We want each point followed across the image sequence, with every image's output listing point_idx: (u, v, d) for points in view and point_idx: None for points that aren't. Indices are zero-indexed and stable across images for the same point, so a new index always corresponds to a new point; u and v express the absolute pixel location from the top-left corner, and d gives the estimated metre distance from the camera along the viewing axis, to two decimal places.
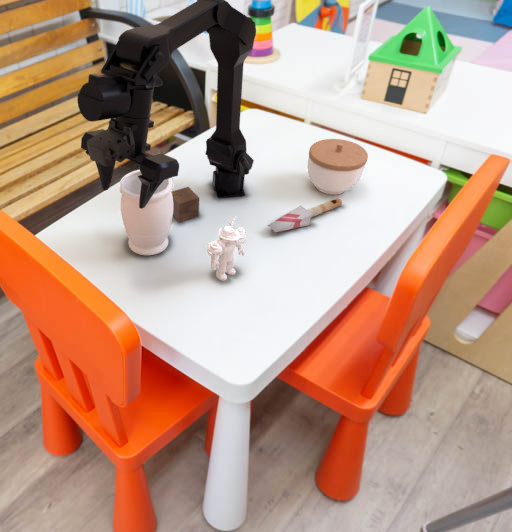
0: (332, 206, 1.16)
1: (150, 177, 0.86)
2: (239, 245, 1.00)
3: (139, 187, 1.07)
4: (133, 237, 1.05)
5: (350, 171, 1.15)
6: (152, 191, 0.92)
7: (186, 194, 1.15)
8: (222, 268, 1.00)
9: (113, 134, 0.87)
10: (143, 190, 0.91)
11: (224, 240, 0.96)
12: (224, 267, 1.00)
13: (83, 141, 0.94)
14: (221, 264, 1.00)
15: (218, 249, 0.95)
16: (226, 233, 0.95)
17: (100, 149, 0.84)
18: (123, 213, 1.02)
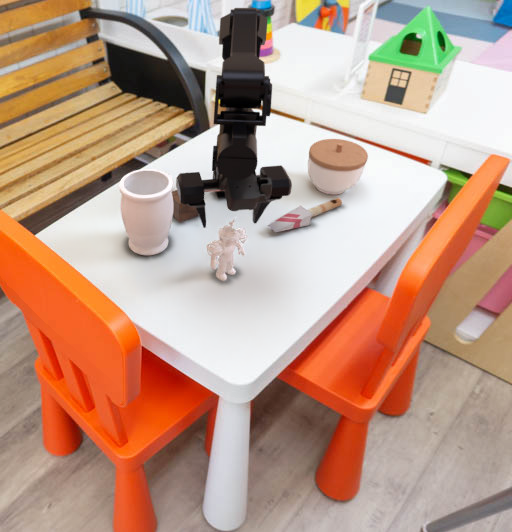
0: (332, 206, 1.16)
1: (283, 194, 0.88)
2: (239, 245, 1.00)
3: (139, 187, 1.07)
4: (133, 237, 1.05)
5: (350, 171, 1.15)
6: None
7: None
8: (222, 268, 1.00)
9: None
10: (263, 207, 0.92)
11: (224, 240, 0.96)
12: (224, 267, 1.00)
13: (187, 197, 0.87)
14: (221, 264, 1.00)
15: (218, 249, 0.95)
16: (226, 233, 0.95)
17: (254, 198, 0.81)
18: (123, 213, 1.02)
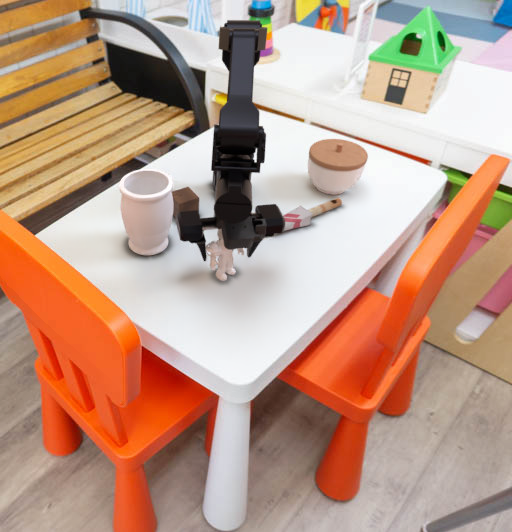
0: (332, 206, 1.16)
1: (277, 232, 0.93)
2: None
3: (139, 187, 1.07)
4: (133, 237, 1.05)
5: (350, 171, 1.15)
6: None
7: (186, 194, 1.15)
8: (222, 268, 1.00)
9: None
10: (256, 243, 0.97)
11: (223, 240, 0.96)
12: (224, 267, 1.00)
13: (187, 235, 0.92)
14: (221, 264, 1.00)
15: (217, 249, 0.95)
16: None
17: (249, 238, 0.87)
18: (123, 213, 1.02)
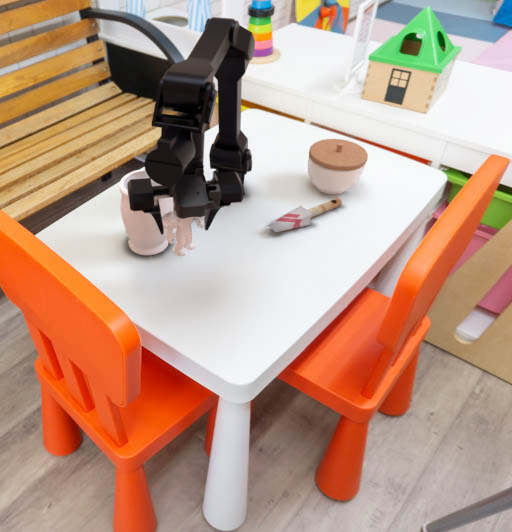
0: (332, 206, 1.16)
1: (235, 200, 0.86)
2: (197, 217, 0.93)
3: None
4: (133, 237, 1.05)
5: (350, 171, 1.15)
6: None
7: None
8: (180, 242, 0.93)
9: (189, 182, 0.81)
10: (213, 214, 0.89)
11: None
12: (182, 241, 0.93)
13: (137, 204, 0.84)
14: (178, 238, 0.93)
15: (174, 220, 0.88)
16: None
17: (201, 205, 0.79)
18: (123, 213, 1.02)
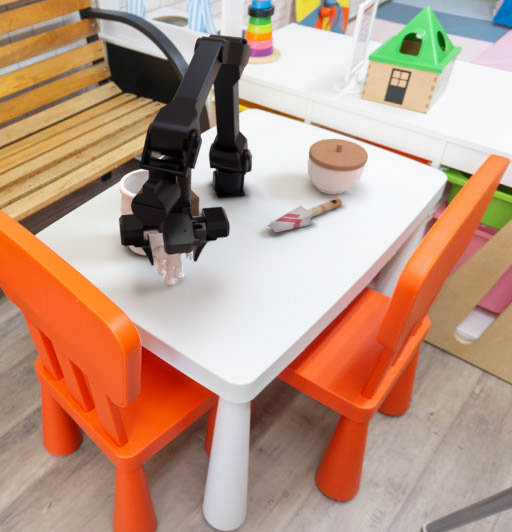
0: (332, 206, 1.16)
1: (222, 236, 0.90)
2: None
3: (139, 187, 1.07)
4: None
5: (350, 171, 1.15)
6: None
7: None
8: (169, 273, 0.97)
9: (177, 221, 0.85)
10: (200, 247, 0.94)
11: None
12: (171, 272, 0.97)
13: (127, 239, 0.89)
14: (168, 269, 0.97)
15: (163, 254, 0.93)
16: None
17: (188, 243, 0.83)
18: (123, 213, 1.02)
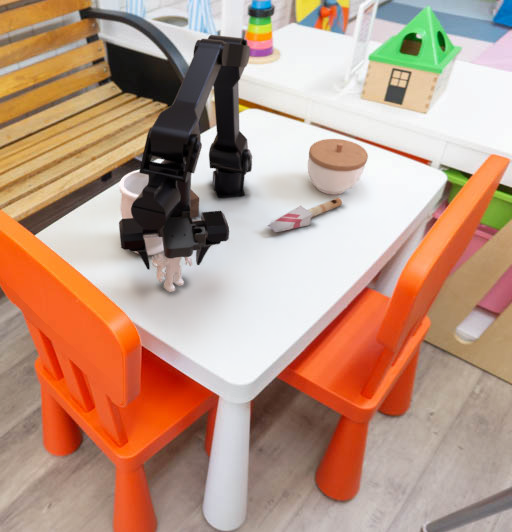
0: (332, 206, 1.16)
1: (221, 240, 0.90)
2: None
3: (139, 187, 1.07)
4: None
5: (350, 171, 1.15)
6: None
7: None
8: (169, 279, 0.98)
9: (177, 225, 0.86)
10: (204, 251, 0.94)
11: None
12: (171, 278, 0.98)
13: (127, 243, 0.89)
14: (168, 275, 0.98)
15: (163, 261, 0.94)
16: None
17: (188, 247, 0.84)
18: (123, 213, 1.02)
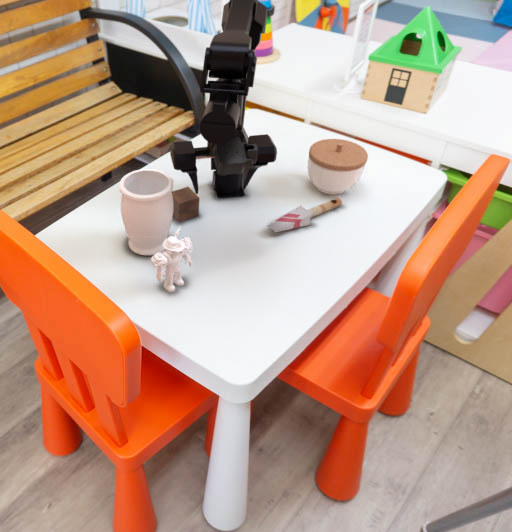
0: (332, 206, 1.16)
1: (269, 160, 0.95)
2: (185, 255, 0.98)
3: (139, 187, 1.07)
4: (133, 237, 1.05)
5: (350, 171, 1.15)
6: None
7: (186, 194, 1.15)
8: (169, 279, 0.98)
9: (229, 143, 0.90)
10: (251, 174, 0.99)
11: (169, 251, 0.94)
12: (171, 278, 0.98)
13: (180, 163, 0.94)
14: (168, 275, 0.98)
15: (163, 261, 0.94)
16: (170, 244, 0.94)
17: (241, 162, 0.89)
18: (123, 213, 1.02)
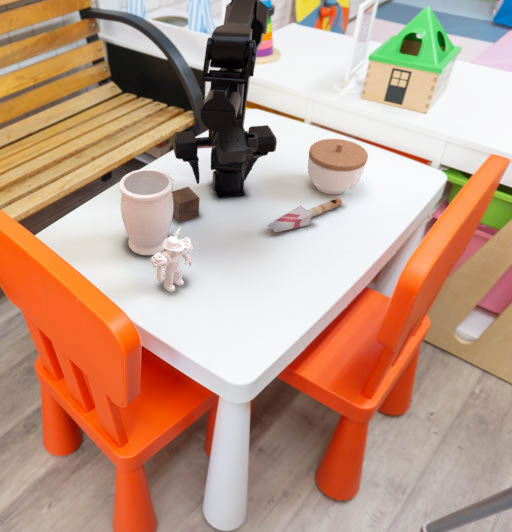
0: (332, 206, 1.16)
1: (269, 150, 0.97)
2: (185, 255, 0.98)
3: (139, 187, 1.07)
4: (133, 237, 1.05)
5: (350, 171, 1.15)
6: None
7: (186, 194, 1.15)
8: (169, 279, 0.98)
9: (230, 132, 0.92)
10: (251, 164, 1.01)
11: (169, 251, 0.94)
12: (171, 278, 0.98)
13: (182, 152, 0.96)
14: (168, 275, 0.98)
15: (163, 261, 0.94)
16: (170, 244, 0.94)
17: (241, 150, 0.90)
18: (123, 213, 1.02)
